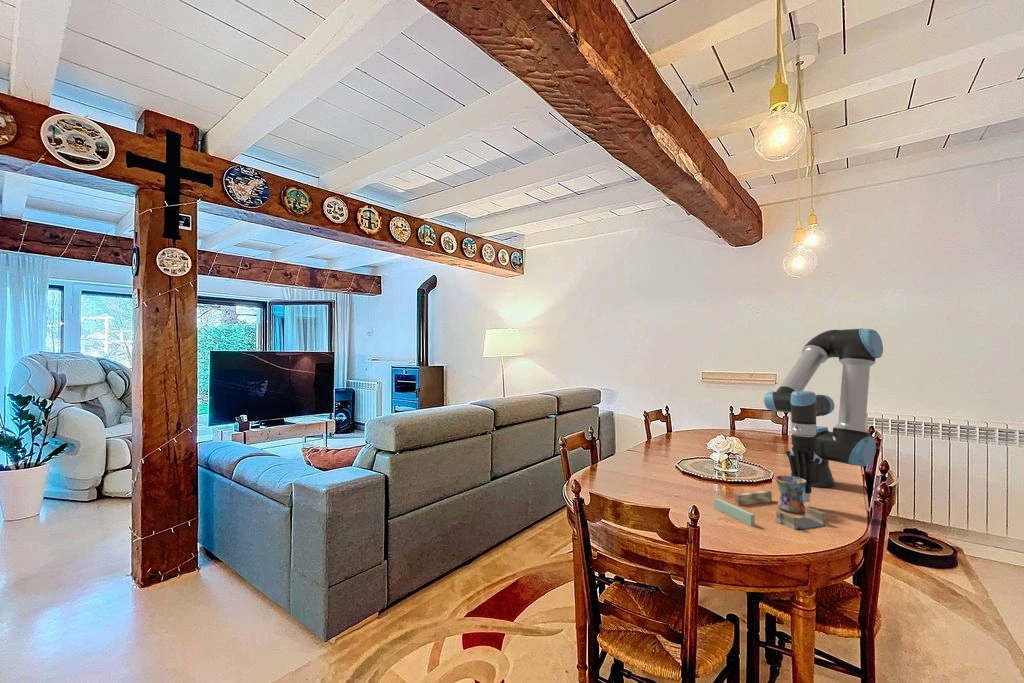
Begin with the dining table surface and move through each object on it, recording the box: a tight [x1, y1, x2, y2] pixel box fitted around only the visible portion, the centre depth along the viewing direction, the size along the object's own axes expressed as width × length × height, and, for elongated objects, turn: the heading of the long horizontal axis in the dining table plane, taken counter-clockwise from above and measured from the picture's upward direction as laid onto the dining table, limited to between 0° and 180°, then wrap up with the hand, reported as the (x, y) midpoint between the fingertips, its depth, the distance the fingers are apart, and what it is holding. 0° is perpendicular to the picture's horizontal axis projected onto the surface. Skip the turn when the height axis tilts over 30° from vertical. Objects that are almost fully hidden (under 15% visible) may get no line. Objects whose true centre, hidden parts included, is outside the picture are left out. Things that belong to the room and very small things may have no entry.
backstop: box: [714, 497, 756, 527], centre depth 148 cm, size 2×16×4 cm, turn 16°
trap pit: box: [797, 516, 826, 531], centre depth 142 cm, size 10×7×1 cm
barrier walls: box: [734, 489, 827, 530], centre depth 151 cm, size 15×24×4 cm, turn 16°
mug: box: [774, 475, 807, 514], centre depth 155 cm, size 12×9×11 cm
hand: (805, 501), depth 157 cm, fingers closed
